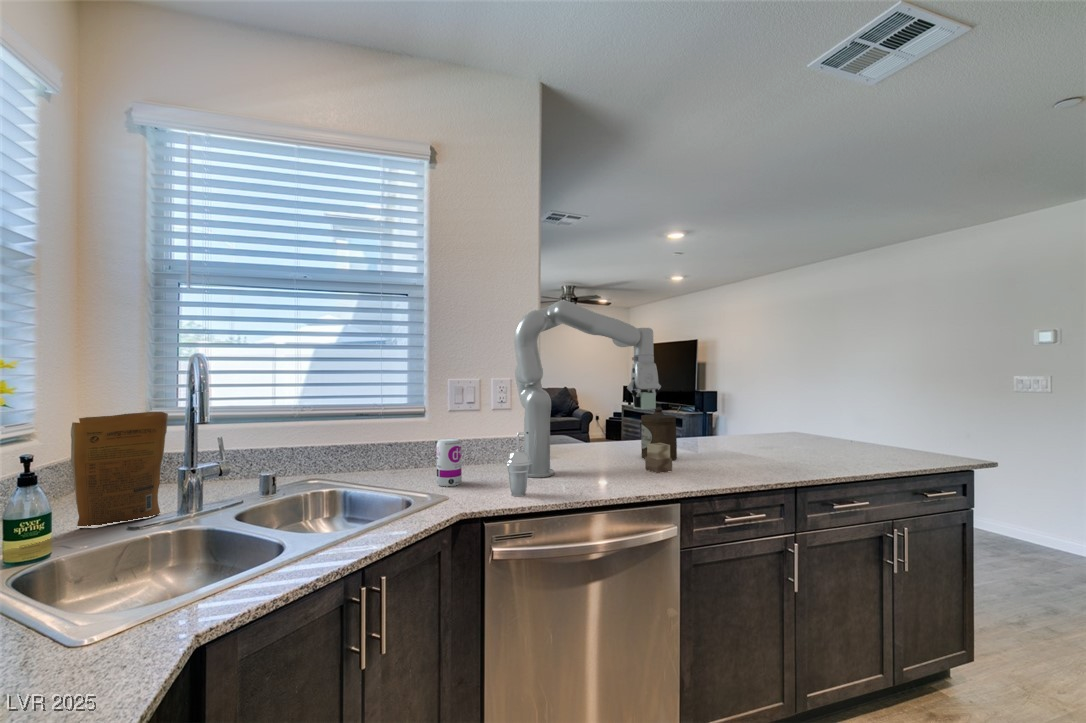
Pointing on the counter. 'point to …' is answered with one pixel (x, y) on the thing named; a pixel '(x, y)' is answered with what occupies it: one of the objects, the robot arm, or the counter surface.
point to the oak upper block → (658, 451)
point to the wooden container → (659, 431)
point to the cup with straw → (518, 470)
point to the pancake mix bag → (117, 466)
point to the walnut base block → (658, 464)
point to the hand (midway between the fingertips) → (644, 406)
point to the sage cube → (646, 401)
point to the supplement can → (449, 462)
